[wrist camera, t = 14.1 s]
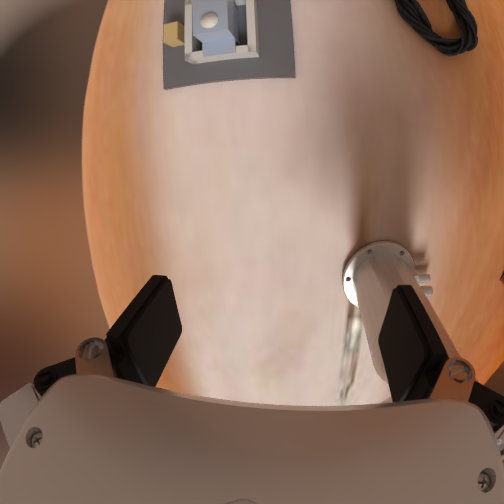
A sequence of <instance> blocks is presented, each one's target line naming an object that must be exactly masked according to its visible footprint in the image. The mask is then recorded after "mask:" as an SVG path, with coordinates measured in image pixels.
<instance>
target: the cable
mask: <svg viewBox="0 0 504 504" xmlns="http://www.w3.org/2000/svg"><path fill="white" fill-rule="evenodd" d="M395 1H396V4H397V9H398V11H399V13H400V14H401V16H402V17H403V18H404V19H405V20H406V21H407V22H408V23H409V24H410V25H411V26H412V27H413V28H414V30H415V31H416V32H418V33H419V34H420V35H422V37H423V38H424V39H426V40H427V41H428V42H429V43H431V44H432V45H433V46H435V47H436V48H437V49H438V50H439V51H440V52H441V53H443V54H445V55H448V56H454V55H457V54H460V53H463V52H465V51H471V50H473V49H474V48H475V47H476V46H477V43H478V37H477V25H476V21H475V19H474V17H473V15H472V14H471V12H470V11H469V10H468V8H467V5H466V3H465V0H446V1H447V3H448V5H449V7H450V9H451V10H452V11H453V13H455V16H456V19H457V22H458V25H459V28H460V30H461V38H459V39H443V38H442V37H440V36H439V35H437V34H436V33H435V32H433V30H432V29H431V24H430V22H429V20H428V19H427V17H426V15H425V13H424V11H423V9H422V8H421V6H420V4H419V3H418V2H417V1H416V0H395ZM459 19H460V20H461V24H462V26H461V24H460V21H459Z"/></svg>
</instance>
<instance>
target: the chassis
mask: <svg viewBox="0 0 504 504" xmlns="http://www.w3.org/2000/svg"><path fill="white" fill-rule="evenodd" d="M234 4H235V6H236V8H237V9H238V17H239V36H240V46H236V53H230V54H222V55H215V56H208V57H203V50H202V42H201V41H200V40H198V39H197V38H196V37H195V36H193V0H164V22H163V82H164V89H166V90H168V89H173V88H179V87H185V86H191V85H197V84H205V83H212V82H221V81H232V80H244V79H264V78H295V59H294V42H293V28H292V15H291V4H290V0H234Z"/></svg>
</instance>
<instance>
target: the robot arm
mask: <svg viewBox="0 0 504 504" xmlns="http://www.w3.org/2000/svg"><path fill="white" fill-rule="evenodd" d="M369 249H370V250H369ZM368 250H369V251H368ZM400 251H401V252H400ZM429 282H430V275H429V274H422V275H418V273H417V272H416V271H415V264H414V260H413V258H412V256H411V255H410V253H409V252H408V251H407V250H406V249H405V248H404V247H403V246H402V245H400V244H398V243H395V242H392V241H378V242H374V243H371V244H368V245H366V246H364V247H362V248H361V249H360V250H358V251H357V252H356V253H355V254H354V255H353V256H352V257H351V258H350V260H349V261H348V263H347V264H346V267H345V269H344V272H343V277H342V284H343V289H344V292H345V295H346V296H347V298H348V300H349V301H350V302H351V303H352V304H354V305H355V306H357V307H359V310H360V313H361V317H362V321H363V325H364V328H365V332H366V336H367V340H368V344H369V348H370V352H371V357H372V361H373V365H374V368H375V370H376V372H377V374H378V375H379V376H380V377H381V379H382V380H384V381H385V382H386V383H388V384H389V388H390V392H391V397H389V398H387V399H386V400H385V401H383V402H381V403H379V404H367V405H350V406H290V405H271V404H259V403H248V402H239V401H230V400H223V399H216V398H209V397H203V396H197V395H191V394H186V393H181V392H176V391H171V390H166V389H162V388H157V387H155V386H156V384H157V382H158V380H159V378H160V376H161V374H162V372H163V370H164V368H165V366H166V364H167V362H168V360H169V358H170V355H171V353H172V351H173V349H174V347H175V345H176V343H177V341H178V339H179V337H180V335H181V332H182V325H181V321H180V317H179V313H178V309H177V305H176V300H175V296H174V291H173V287H172V282H171V280H170V279H168V278H167V276H162V275H153V276H152V277H151V278H150V279H149V281H148V282H147V283H146V284H145V285H144V287H143V288H142V289H141V290H140V292H139V293H138V294H137V295H136V297H135V298H134V299H133V300H132V302H131V303H130V304H129V305H128V307H127V308H126V309H125V310H124V312H123V313H122V314H121V316H120V317H119V318H118V319H117V321H116V322H115V323H114V325H113V326H112V327H111V329H110V330H109V331H108V333H107V334H106V335H107V338H106V339H105V340H103V339H101V338H97V337H93V338H89V339H87V340H84V341H83V342H82V343H80V344H79V346H78V347H77V349H76V351H75V357H74V358H72V359H69V360H66V361H63V362H60V363H58V364H55V365H52V366H49V367H46V368H44V369H42V370H40V371H39V372H38V373H37V375H36V376H35V378H34V384H33V385H32V384H31V383H29V384H27V385H26V386H24V387H23V388H21V389H20V390H18V391H17V392H15V393H13V394H12V395H11V396H9V397H8V398H6V399H5V400H3V401H2V402H1V404H0V421H1V424H2V427H3V430H4V433H5V436H6V439H7V441H8V444H9V447H10V450H9V452H8V454H7V456H6V459H5V461H4V463H3V465H2V468H1V470H0V504H504V397H503V396H502V395H500V394H498V393H496V392H494V391H493V390H491V389H489V388H487V387H485V386H484V385H482V384H480V383H479V382H478V381H477V379H476V378H475V370H474V368H473V366H472V365H471V364H470V362H469V361H467V360H465V359H463V358H462V357H461V356H460V354H459V353H458V351H457V350H456V348H455V346H454V344H453V342H452V341H451V339H450V337H449V335H448V334H447V332H446V330H445V328H444V327H443V325H442V323H441V321H440V320H439V318H438V316H437V314H436V313H435V311H434V309H433V307H432V306H431V304H430V302H429V301H428V299H427V297H431V296H432V293H433V289H432V287H431V286H419V284H418V283H429Z"/></svg>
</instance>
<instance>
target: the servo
mask: <svg viewBox="0 0 504 504" xmlns="http://www.w3.org/2000/svg"><path fill="white" fill-rule="evenodd" d="M193 36H195V37H196V38H197V39H198V40H200V41H201V42H202V50H203V57H208V56H215V55H222V54H230V53H236V46H240V36H239V17H238V9H237V8H236V6H235V4H234V0H193Z"/></svg>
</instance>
